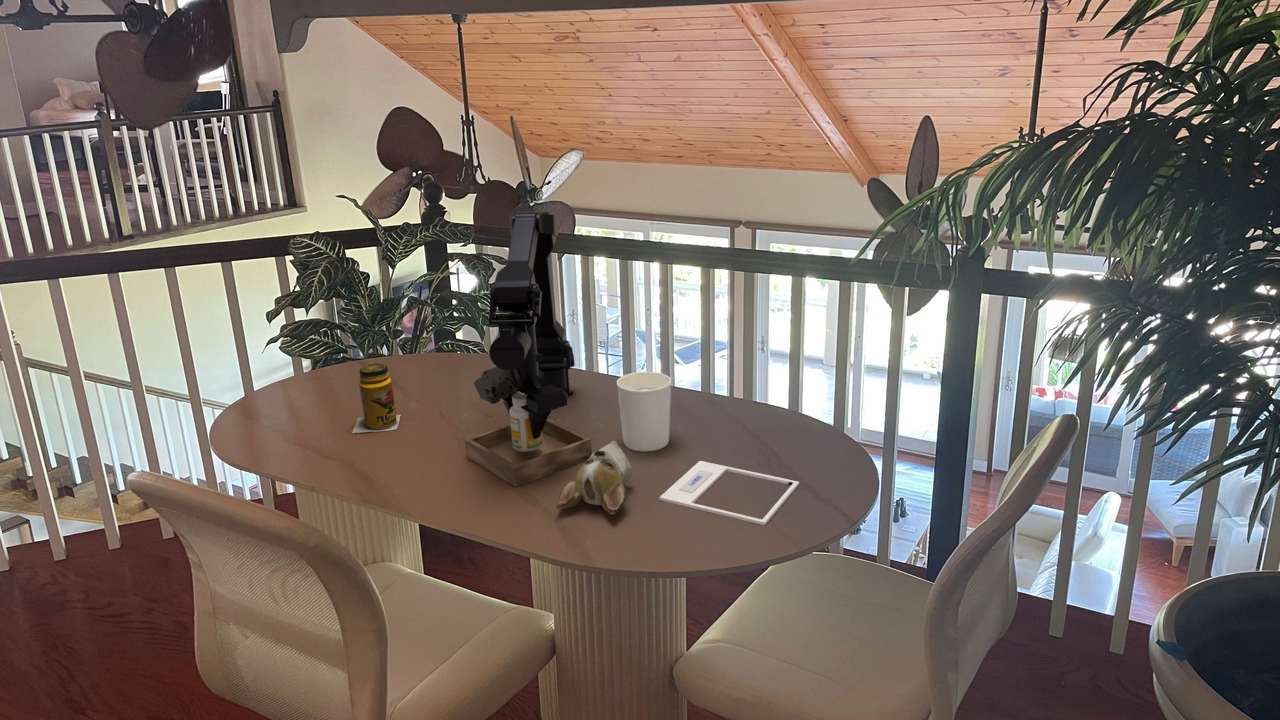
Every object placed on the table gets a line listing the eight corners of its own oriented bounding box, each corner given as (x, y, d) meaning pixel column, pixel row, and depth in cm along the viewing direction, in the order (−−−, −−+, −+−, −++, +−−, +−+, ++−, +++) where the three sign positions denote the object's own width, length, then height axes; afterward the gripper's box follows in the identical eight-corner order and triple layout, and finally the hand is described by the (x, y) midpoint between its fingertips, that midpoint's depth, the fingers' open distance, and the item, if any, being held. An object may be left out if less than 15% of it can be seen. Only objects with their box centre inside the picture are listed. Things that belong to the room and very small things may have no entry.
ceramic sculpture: (644, 434, 146) (613, 480, 133) (647, 480, 149) (618, 530, 136) (583, 428, 149) (547, 473, 136) (587, 474, 152) (553, 522, 139)
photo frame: (699, 459, 154) (799, 480, 146) (699, 465, 155) (798, 486, 146) (659, 496, 143) (764, 521, 134) (659, 502, 143) (764, 527, 134)
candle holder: (609, 448, 162) (606, 386, 158) (635, 427, 170) (632, 368, 166) (658, 457, 157) (656, 394, 153) (682, 436, 166) (680, 375, 162)
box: (540, 431, 170) (539, 414, 169) (592, 457, 158) (591, 439, 157) (466, 457, 160) (464, 439, 159) (516, 487, 149) (514, 468, 148)
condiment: (396, 430, 173) (388, 372, 169) (351, 434, 172) (342, 375, 168) (401, 415, 180) (393, 359, 176) (357, 419, 179) (349, 363, 175)
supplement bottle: (545, 439, 161) (541, 389, 158) (539, 452, 156) (535, 401, 153) (516, 439, 162) (511, 389, 158) (509, 452, 156) (504, 401, 153)
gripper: (450, 348, 154) (460, 431, 160) (509, 375, 141) (518, 464, 146) (505, 333, 161) (512, 413, 167) (566, 357, 148) (572, 443, 153)
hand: (527, 433), depth 158 cm, fingers closed on supplement bottle, 5 cm apart
